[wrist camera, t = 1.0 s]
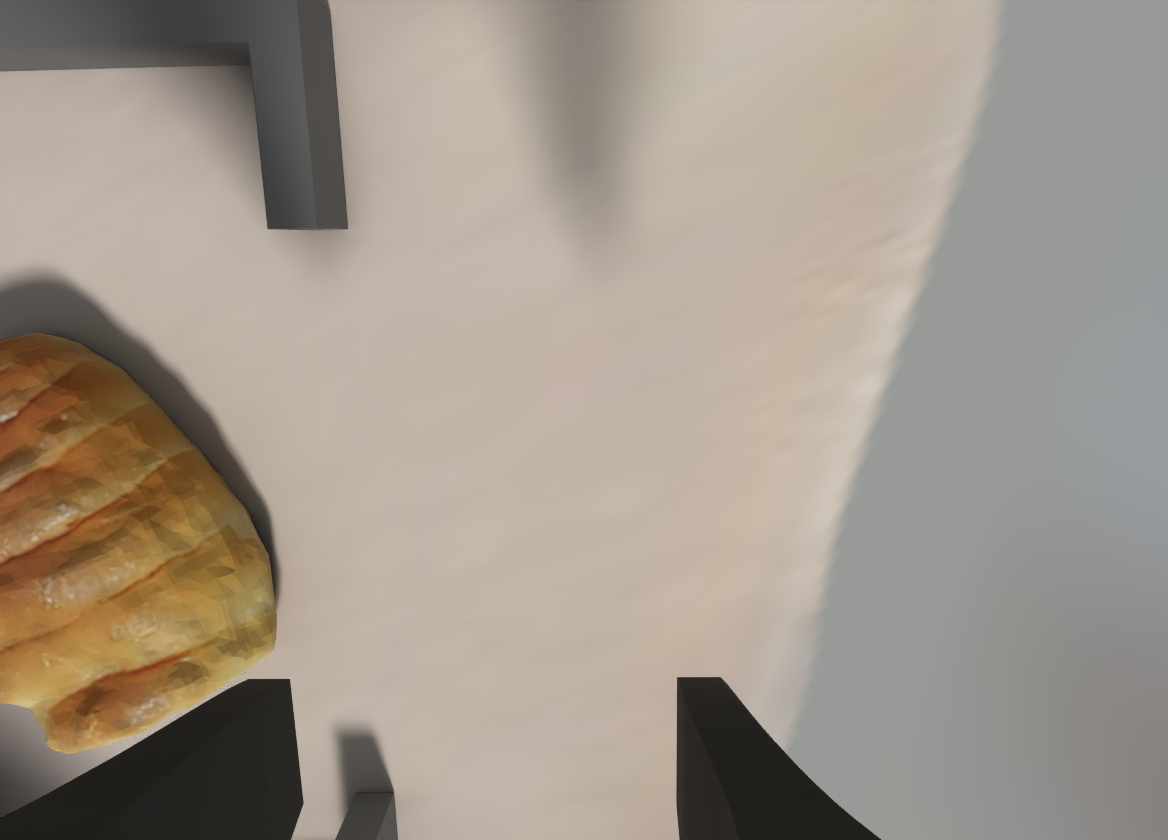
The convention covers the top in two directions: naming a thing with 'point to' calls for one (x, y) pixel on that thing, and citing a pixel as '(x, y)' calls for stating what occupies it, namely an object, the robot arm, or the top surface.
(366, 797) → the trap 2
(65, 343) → the pastry
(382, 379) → the top surface
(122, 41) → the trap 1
